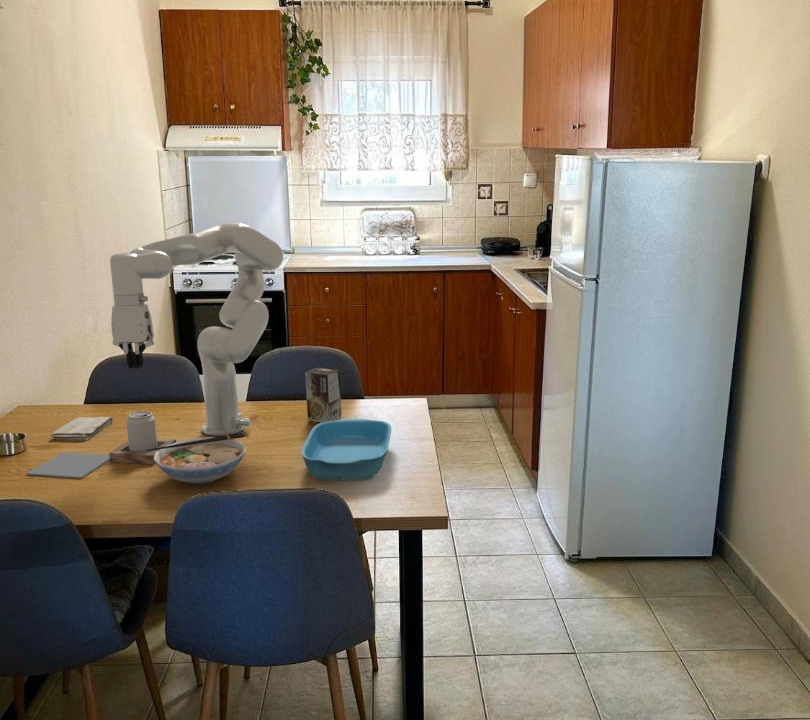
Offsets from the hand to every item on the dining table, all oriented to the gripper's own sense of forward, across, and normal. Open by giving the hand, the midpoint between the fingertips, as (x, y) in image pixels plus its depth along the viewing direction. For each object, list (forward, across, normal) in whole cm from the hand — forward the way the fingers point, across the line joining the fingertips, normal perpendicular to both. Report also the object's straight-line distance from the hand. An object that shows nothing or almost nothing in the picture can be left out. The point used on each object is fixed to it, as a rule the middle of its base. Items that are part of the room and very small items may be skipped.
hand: (135, 367), depth 216 cm
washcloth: (+26, +29, -16) cm, 42 cm away
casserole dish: (+26, -58, -4) cm, 63 cm away
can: (+25, 0, 0) cm, 25 cm away
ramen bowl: (+25, -24, +14) cm, 38 cm away
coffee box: (+25, -41, -37) cm, 61 cm away
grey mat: (+25, +15, +11) cm, 31 cm away
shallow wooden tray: (+25, 0, 0) cm, 25 cm away
